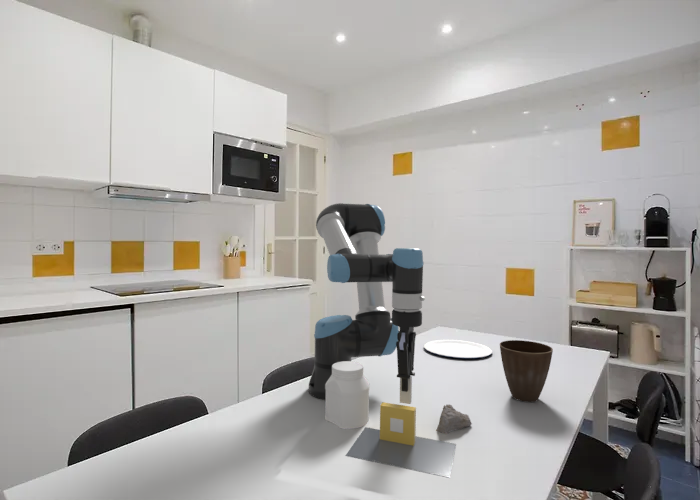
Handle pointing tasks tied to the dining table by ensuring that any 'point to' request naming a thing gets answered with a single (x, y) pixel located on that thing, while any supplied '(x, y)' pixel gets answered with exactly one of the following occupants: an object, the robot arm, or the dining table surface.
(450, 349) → the plate
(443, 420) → the stone
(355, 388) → the jar
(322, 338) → the robot arm
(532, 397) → the plant pot
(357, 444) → the slate board
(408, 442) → the yellow block
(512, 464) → the dining table surface
